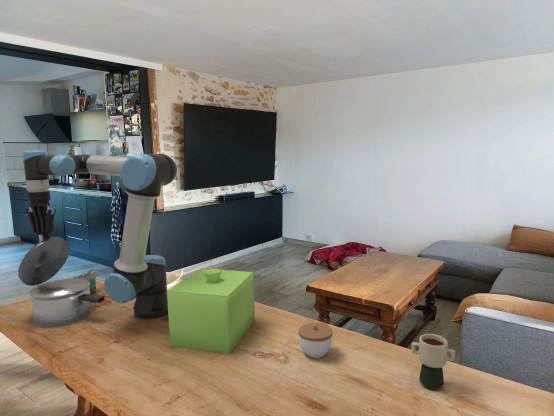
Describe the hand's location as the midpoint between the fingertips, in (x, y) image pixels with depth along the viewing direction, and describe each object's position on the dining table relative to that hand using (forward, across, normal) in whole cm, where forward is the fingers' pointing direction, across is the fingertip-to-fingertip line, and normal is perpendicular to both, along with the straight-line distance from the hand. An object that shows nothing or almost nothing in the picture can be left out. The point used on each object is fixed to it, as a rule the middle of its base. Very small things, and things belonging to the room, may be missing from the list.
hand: (44, 250), depth 152 cm
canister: (+27, -71, -5) cm, 76 cm away
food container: (+27, +2, -22) cm, 35 cm away
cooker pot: (+26, -10, 0) cm, 28 cm away
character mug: (+27, -142, +6) cm, 145 cm away
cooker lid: (+5, 0, 0) cm, 5 cm away
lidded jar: (+27, -108, -1) cm, 111 cm away
